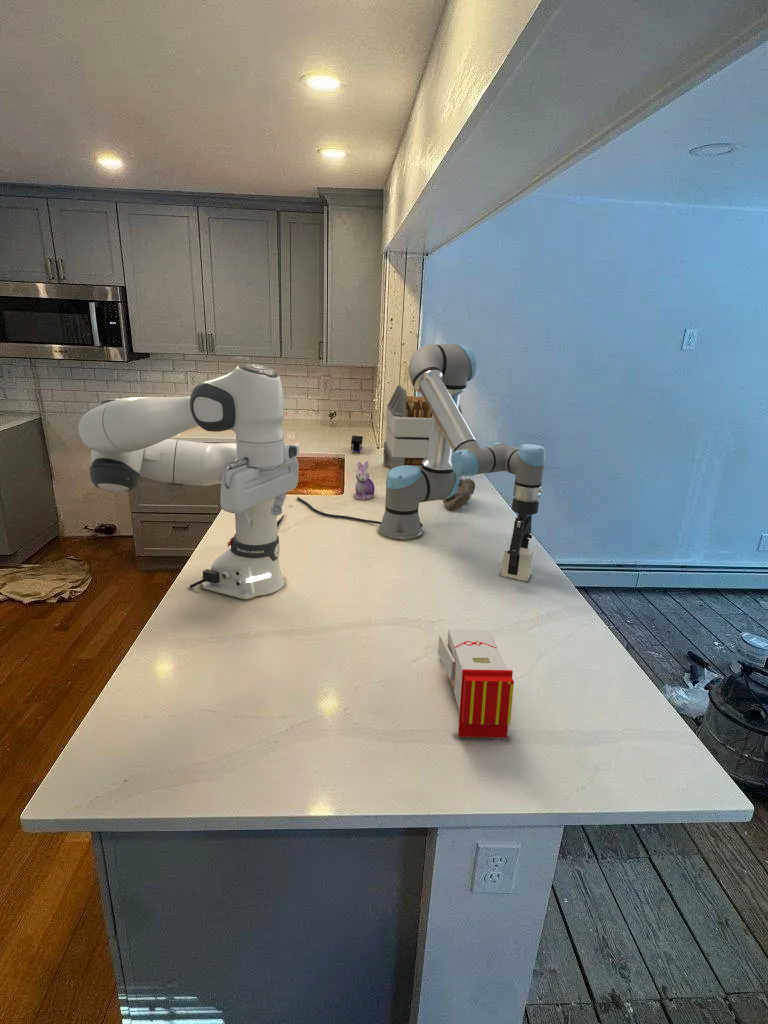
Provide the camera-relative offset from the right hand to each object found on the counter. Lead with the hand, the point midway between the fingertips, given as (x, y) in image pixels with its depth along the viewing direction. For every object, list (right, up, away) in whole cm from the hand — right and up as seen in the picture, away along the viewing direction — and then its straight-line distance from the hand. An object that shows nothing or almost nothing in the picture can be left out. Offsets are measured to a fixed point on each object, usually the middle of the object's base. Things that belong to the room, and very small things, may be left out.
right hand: (517, 565), depth 171 cm
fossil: (-10, +20, +63) cm, 67 cm away
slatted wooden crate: (-23, +35, +104) cm, 112 cm away
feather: (-78, +14, +38) cm, 88 cm away
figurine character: (-55, +49, +140) cm, 158 cm away
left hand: (-64, +14, -59) cm, 88 cm away
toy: (-22, -21, -52) cm, 61 cm away
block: (0, -3, +1) cm, 3 cm away
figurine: (-48, +22, +66) cm, 85 cm away
